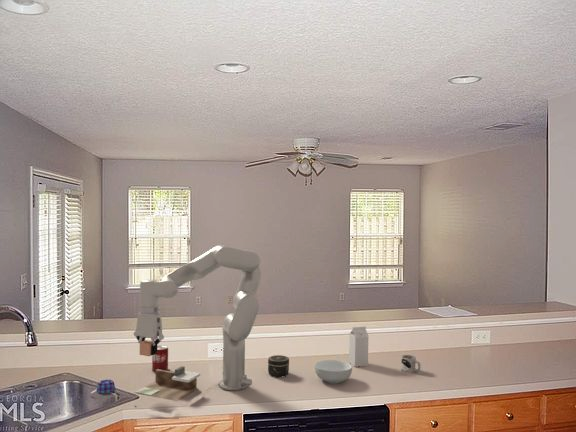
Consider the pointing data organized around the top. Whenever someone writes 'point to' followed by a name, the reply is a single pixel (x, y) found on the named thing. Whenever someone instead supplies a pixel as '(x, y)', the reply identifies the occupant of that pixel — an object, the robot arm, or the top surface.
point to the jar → (278, 365)
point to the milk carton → (358, 347)
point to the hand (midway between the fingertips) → (148, 352)
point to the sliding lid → (184, 375)
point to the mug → (409, 363)
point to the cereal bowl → (333, 370)
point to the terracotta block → (145, 348)
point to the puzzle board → (168, 386)
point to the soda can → (160, 359)
